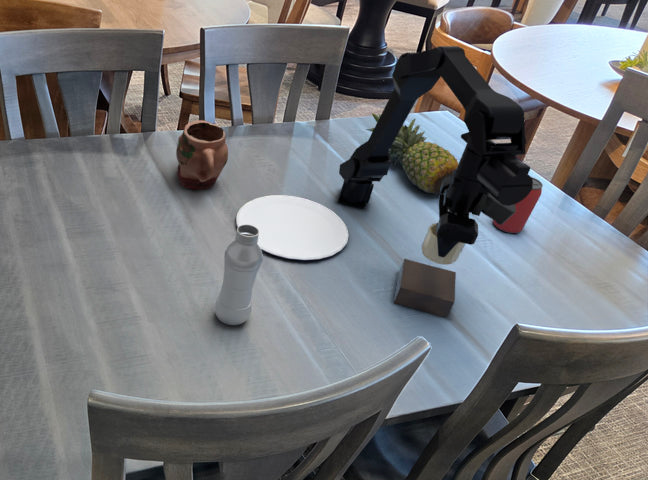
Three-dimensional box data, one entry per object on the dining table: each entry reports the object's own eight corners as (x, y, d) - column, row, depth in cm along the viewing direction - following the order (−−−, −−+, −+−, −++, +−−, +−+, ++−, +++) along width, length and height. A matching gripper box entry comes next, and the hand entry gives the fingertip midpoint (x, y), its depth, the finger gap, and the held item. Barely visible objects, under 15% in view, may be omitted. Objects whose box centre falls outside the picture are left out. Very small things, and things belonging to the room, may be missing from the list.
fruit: (477, 155, 148) (404, 91, 167) (430, 172, 147) (362, 106, 166) (464, 197, 158) (397, 133, 177) (420, 214, 157) (357, 147, 176)
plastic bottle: (210, 306, 120) (224, 219, 107) (245, 305, 121) (263, 219, 108) (216, 330, 115) (231, 242, 102) (252, 329, 116) (272, 241, 103)
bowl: (419, 259, 119) (428, 238, 115) (421, 240, 124) (430, 219, 120) (457, 269, 117) (467, 247, 114) (457, 249, 122) (467, 228, 119)
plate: (212, 227, 140) (213, 222, 139) (275, 187, 155) (276, 182, 154) (309, 279, 128) (310, 274, 127) (367, 230, 142) (369, 226, 142)
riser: (393, 302, 124) (400, 287, 121) (398, 273, 131) (404, 258, 128) (447, 317, 121) (454, 302, 118) (448, 287, 128) (455, 272, 126)
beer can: (525, 236, 144) (549, 191, 136) (495, 232, 145) (517, 187, 137) (517, 220, 149) (540, 176, 141) (488, 216, 150) (510, 172, 142)
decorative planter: (235, 203, 148) (244, 150, 139) (185, 208, 146) (191, 154, 137) (210, 161, 163) (216, 111, 154) (164, 165, 160) (168, 114, 151)
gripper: (526, 212, 100) (488, 286, 110) (520, 160, 114) (486, 231, 124) (453, 195, 103) (422, 269, 113) (455, 147, 117) (427, 217, 127)
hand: (441, 246), depth 119 cm, fingers closed on bowl, 7 cm apart
